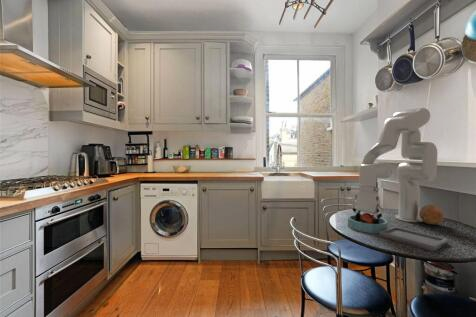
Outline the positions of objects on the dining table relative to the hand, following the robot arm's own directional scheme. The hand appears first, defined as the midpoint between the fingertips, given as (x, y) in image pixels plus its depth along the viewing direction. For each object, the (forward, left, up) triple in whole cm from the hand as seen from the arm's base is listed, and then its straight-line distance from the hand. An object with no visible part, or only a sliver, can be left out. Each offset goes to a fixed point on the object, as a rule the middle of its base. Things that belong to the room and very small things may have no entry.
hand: (366, 223), depth 122 cm
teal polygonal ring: (0, 0, -2) cm, 2 cm away
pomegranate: (0, 0, -2) cm, 2 cm away
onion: (-32, +16, -2) cm, 36 cm away
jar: (-19, -13, -2) cm, 23 cm away
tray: (+1, +20, -2) cm, 20 cm away
